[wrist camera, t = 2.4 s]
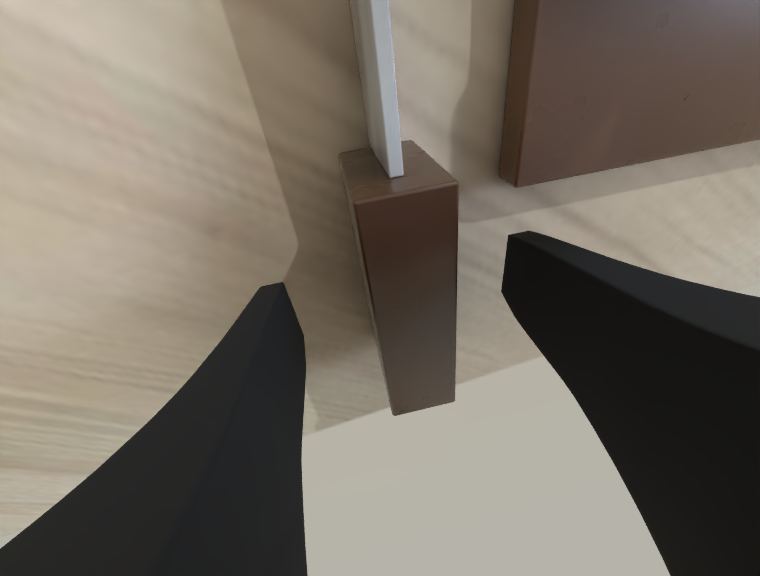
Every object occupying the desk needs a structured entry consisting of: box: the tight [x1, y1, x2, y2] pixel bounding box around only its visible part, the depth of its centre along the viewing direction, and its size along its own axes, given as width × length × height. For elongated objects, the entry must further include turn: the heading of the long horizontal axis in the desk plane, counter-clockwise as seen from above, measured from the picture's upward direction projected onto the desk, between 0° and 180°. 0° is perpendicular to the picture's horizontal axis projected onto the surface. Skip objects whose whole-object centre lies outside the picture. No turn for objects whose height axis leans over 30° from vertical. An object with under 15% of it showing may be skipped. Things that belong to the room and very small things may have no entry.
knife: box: [339, 0, 459, 416], centre depth 7 cm, size 15×2×3 cm, turn 9°
